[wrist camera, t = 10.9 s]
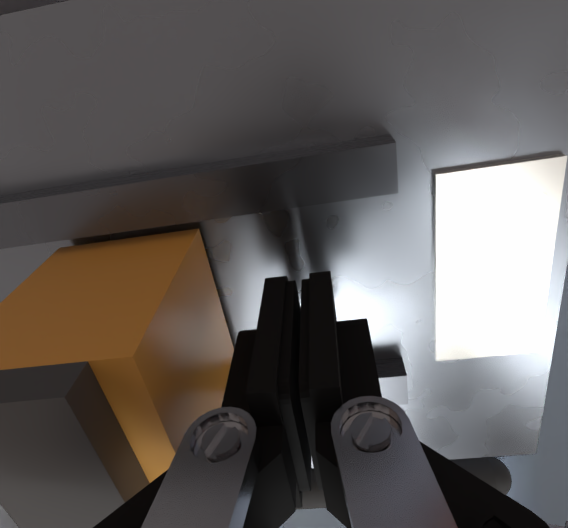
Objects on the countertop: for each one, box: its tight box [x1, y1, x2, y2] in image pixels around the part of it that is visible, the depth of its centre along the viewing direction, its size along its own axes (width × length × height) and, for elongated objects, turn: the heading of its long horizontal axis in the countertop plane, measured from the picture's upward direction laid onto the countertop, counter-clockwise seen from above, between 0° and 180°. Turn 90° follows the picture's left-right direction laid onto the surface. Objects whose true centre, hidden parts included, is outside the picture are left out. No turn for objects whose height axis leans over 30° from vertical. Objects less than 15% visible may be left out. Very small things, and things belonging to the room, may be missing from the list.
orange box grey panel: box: [0, 228, 234, 528], centre depth 11 cm, size 4×5×6 cm
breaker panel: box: [0, 0, 568, 468], centre depth 14 cm, size 24×16×3 cm, turn 100°
